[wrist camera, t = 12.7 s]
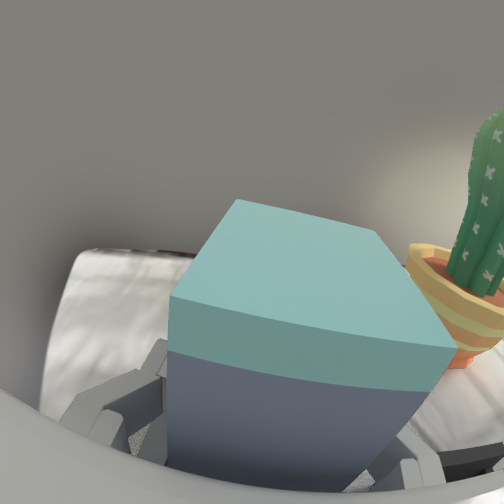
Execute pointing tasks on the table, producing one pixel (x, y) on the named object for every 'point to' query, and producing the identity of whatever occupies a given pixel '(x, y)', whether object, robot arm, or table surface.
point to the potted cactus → (471, 255)
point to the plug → (295, 352)
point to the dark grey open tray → (470, 461)
